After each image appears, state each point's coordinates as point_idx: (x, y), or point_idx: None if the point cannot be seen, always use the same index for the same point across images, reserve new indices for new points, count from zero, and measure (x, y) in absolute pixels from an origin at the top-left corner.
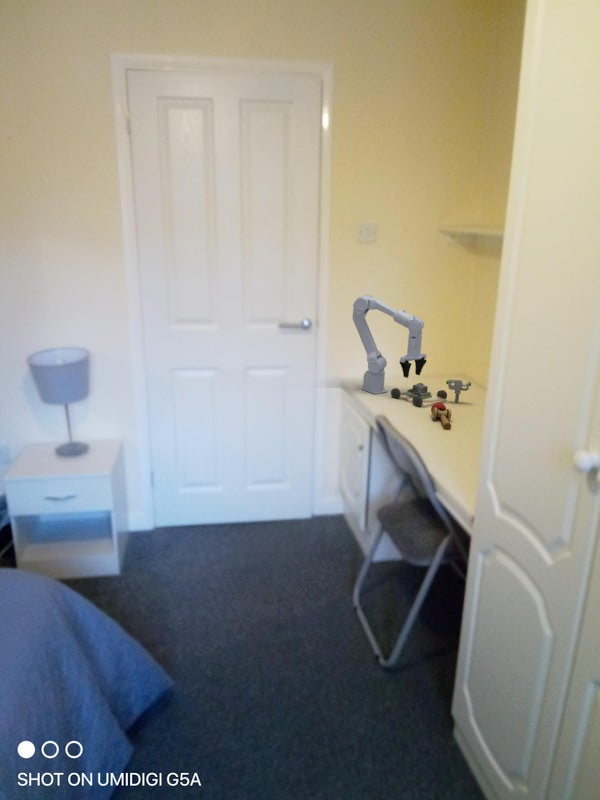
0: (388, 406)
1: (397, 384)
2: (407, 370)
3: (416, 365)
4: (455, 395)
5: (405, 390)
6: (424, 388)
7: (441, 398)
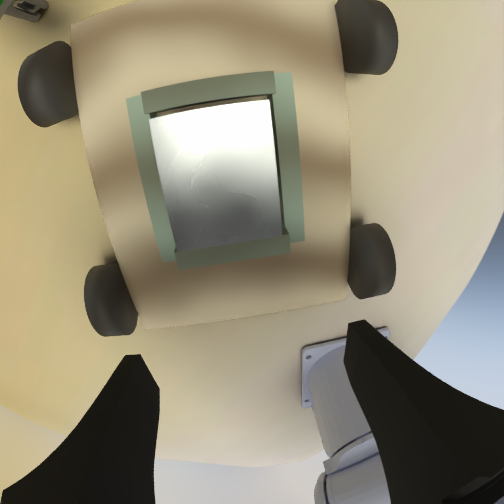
0: (474, 143)
1: (172, 405)
2: (439, 379)
3: (146, 485)
4: (13, 7)
5: (219, 316)
6: (208, 107)
7: (81, 58)
